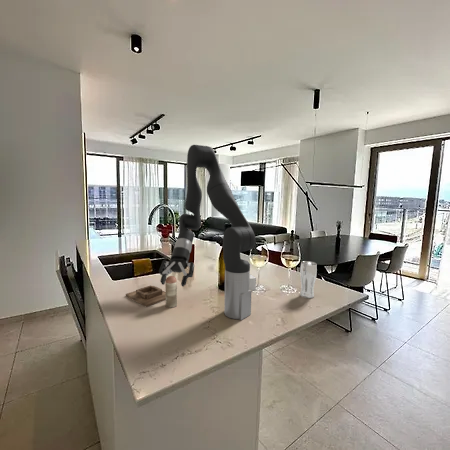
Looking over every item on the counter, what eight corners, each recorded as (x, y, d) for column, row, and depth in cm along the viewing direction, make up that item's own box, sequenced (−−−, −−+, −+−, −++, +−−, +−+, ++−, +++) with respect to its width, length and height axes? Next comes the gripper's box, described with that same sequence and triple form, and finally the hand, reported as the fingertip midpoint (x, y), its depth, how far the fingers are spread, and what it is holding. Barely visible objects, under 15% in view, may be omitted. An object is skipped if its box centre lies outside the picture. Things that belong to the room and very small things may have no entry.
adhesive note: (255, 290, 122) (256, 277, 122) (244, 291, 120) (244, 279, 119) (250, 285, 128) (250, 274, 127) (239, 287, 126) (239, 275, 125)
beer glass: (314, 293, 119) (316, 261, 117) (315, 299, 112) (317, 266, 110) (298, 291, 121) (300, 260, 119) (298, 297, 114) (300, 264, 112)
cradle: (172, 297, 112) (172, 290, 112) (146, 307, 103) (146, 299, 102) (151, 288, 123) (151, 281, 122) (125, 296, 113) (125, 289, 113)
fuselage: (179, 305, 105) (178, 276, 103) (170, 308, 101) (169, 278, 100) (172, 302, 108) (171, 273, 106) (163, 305, 104) (163, 276, 103)
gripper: (164, 245, 113) (152, 279, 103) (195, 247, 110) (187, 282, 101) (169, 254, 119) (158, 287, 109) (199, 256, 116) (191, 290, 107)
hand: (172, 284), depth 105 cm, fingers open, 8 cm apart
